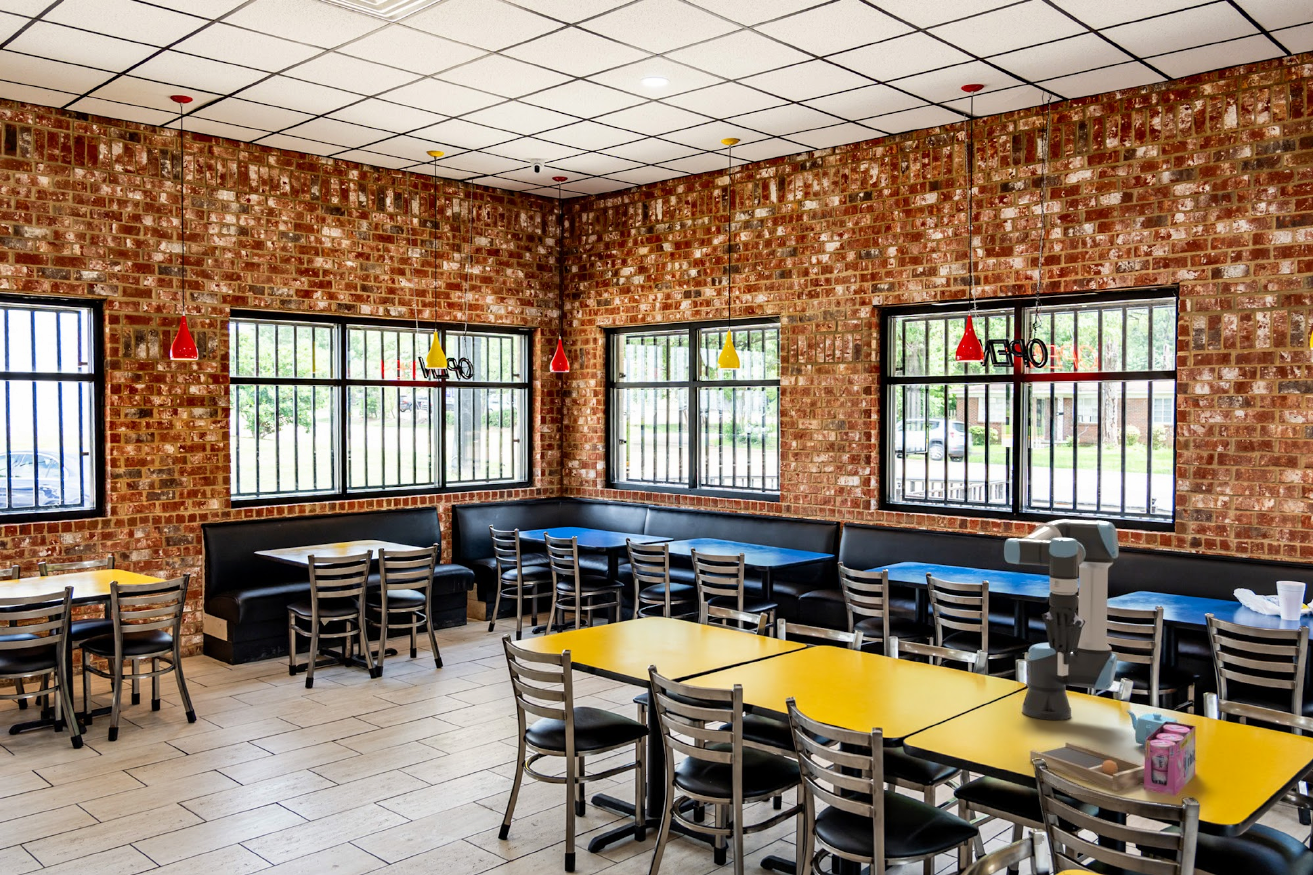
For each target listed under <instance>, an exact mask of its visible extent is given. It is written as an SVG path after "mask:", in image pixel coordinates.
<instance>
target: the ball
mask: <svg viewBox="0 0 1313 875" xmlns="http://www.w3.org/2000/svg"><path fill="white" fill-rule="evenodd" d="M1102 770H1103V772H1104V773H1105V774H1107V775H1110V776H1112V775H1113V774H1116V773H1117V771H1118V767H1117V765H1116V763H1115V762H1113V761H1111V760H1107V761H1105V762H1103V764H1102Z"/></svg>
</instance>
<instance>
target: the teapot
mask: <svg viewBox="0 0 1313 875" xmlns="http://www.w3.org/2000/svg"><path fill="white" fill-rule="evenodd" d="M1125 712H1126V713H1127V714H1129V716H1130V718H1131V724H1132V728H1133V729H1134V731H1135V734H1134V735H1135V736H1134V738H1135V742H1136V743H1137V744H1140V745H1142V746H1141V749H1145V742H1146V739H1147V737H1148V736H1150V735H1151V734H1152V733H1153V732H1154V731H1156V730H1157V729H1158V728H1159V727H1160V726H1161V725H1162V724H1163V723H1164V722H1166V721H1169V722H1175V723H1178V720H1177V719H1176V718H1173V717H1167V716H1164V715H1162V713H1159V712H1154V713H1146V714H1143V715H1140V716H1139V717H1136V714H1135V713H1134V712H1133V711H1130V710H1125Z"/></svg>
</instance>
